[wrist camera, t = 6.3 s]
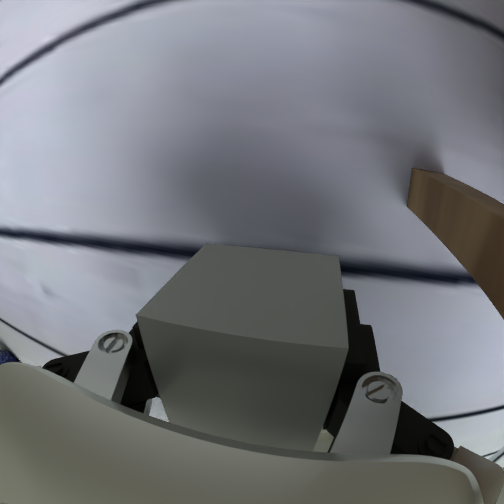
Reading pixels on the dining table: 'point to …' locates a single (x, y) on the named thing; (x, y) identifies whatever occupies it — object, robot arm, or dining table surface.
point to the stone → (249, 344)
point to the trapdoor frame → (464, 227)
